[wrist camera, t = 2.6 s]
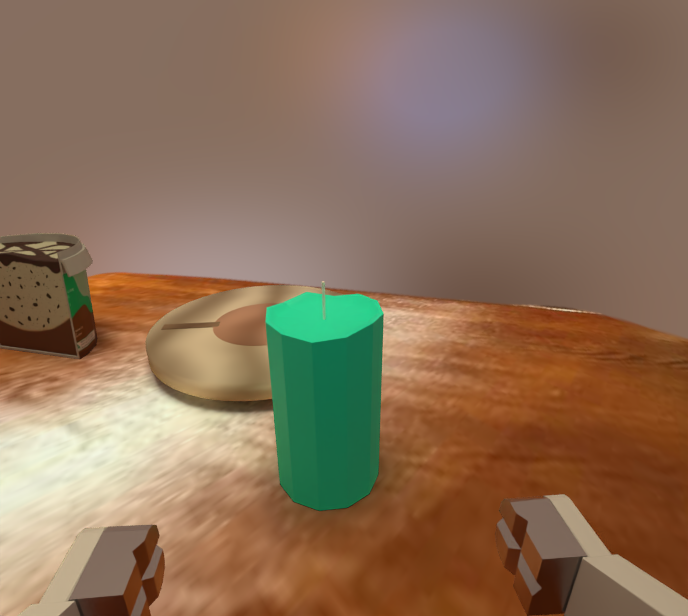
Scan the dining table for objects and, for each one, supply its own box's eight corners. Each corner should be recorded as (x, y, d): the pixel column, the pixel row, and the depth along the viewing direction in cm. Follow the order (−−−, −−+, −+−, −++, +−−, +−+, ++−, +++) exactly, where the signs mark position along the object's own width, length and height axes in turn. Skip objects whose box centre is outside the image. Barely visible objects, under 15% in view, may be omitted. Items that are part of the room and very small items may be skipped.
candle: (397, 462, 26) (407, 277, 21) (335, 531, 21) (331, 317, 17) (323, 424, 29) (317, 257, 24) (257, 476, 25) (235, 286, 20)
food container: (140, 331, 43) (118, 235, 39) (93, 361, 37) (63, 252, 33) (43, 320, 46) (14, 229, 42) (-14, 346, 40) (-54, 244, 36)
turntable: (358, 294, 49) (358, 281, 48) (391, 392, 31) (392, 374, 30) (183, 301, 47) (181, 288, 47) (108, 409, 29) (102, 390, 28)
